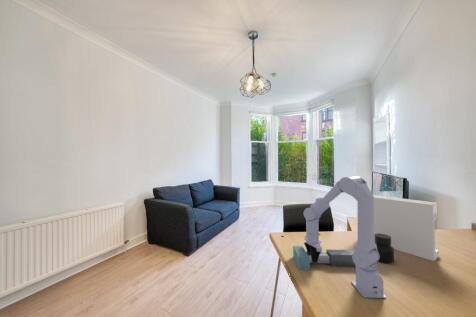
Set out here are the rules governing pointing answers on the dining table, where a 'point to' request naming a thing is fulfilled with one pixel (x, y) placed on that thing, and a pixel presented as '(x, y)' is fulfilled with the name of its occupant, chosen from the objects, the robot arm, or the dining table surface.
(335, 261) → the dark grey rectangular bar
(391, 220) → the block
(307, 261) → the socket block
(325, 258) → the grey square bar
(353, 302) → the dining table surface
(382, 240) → the ink bottle
